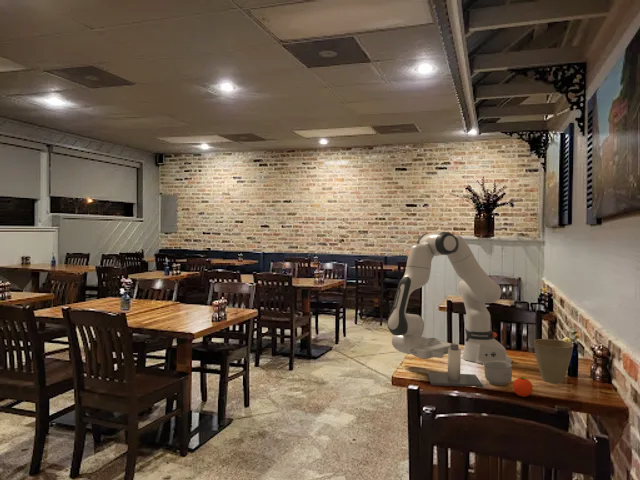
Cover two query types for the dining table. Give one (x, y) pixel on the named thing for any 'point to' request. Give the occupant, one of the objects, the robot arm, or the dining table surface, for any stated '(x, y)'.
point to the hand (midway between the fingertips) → (449, 354)
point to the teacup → (498, 372)
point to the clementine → (522, 387)
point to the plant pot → (553, 358)
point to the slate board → (464, 380)
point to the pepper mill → (454, 362)
